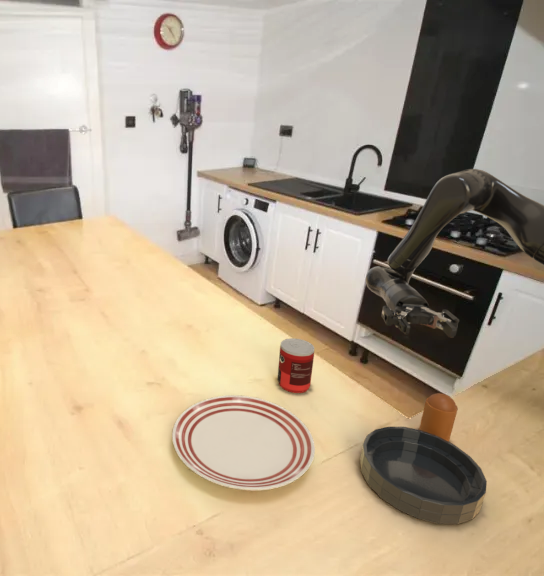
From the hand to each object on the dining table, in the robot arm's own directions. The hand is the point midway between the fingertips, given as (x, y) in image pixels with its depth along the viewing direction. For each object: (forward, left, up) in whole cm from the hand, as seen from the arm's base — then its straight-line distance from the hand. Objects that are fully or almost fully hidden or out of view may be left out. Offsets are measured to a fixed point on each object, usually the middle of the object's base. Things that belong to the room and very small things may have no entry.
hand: (430, 332), depth 86 cm
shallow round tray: (+11, +22, -19) cm, 31 cm away
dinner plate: (+41, +14, -19) cm, 47 cm away
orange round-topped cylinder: (+2, +11, -19) cm, 22 cm away
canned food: (+25, -8, -19) cm, 32 cm away
